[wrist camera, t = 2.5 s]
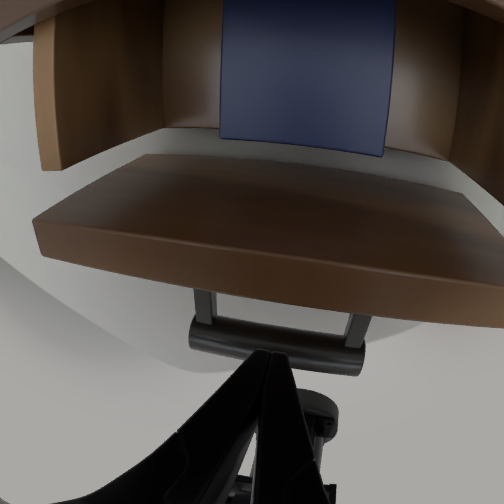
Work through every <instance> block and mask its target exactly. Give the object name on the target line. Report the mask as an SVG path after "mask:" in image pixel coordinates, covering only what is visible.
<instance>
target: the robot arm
mask: <svg viewBox="0 0 504 504" xmlns="http://www.w3.org/2000/svg"><path fill="white" fill-rule="evenodd" d="M257 423H258V426H257ZM334 425H335V419H334V418H333V417H325V416H317V415H309V414H304V413H303V410H302V406H301V402H300V399H299V395H298V391H297V388H296V384H295V380H294V377H293V373H292V369H291V366H290V362H289V359H288V355H287V354H286V353H283V352H277V351H273V352H272V353H271V351H270V350H265V349H259V348H257V349H255V350H254V351H253V352H252V354H251V355H250V356H249V357H248V358H247V359H246V360H245V361H244V362H243V363H242V364H241V365H240V366H239V368H238V369H237V370H236V371H235V372H234V373H233V374H232V375H231V376H230V377H229V378H228V379H227V380H226V381H225V382H224V383H223V384H222V385H221V387H220V388H219V389H218V390H217V391H216V392H215V393H214V394H213V395H212V396H211V397H210V398H209V399H208V400H207V401H206V402H205V403H204V404H203V405H202V406H201V407H200V408H199V409H198V410H197V411H196V412H195V413H194V414H193V415H192V416H191V417H190V418H189V419H188V420H187V421H186V422H185V423H184V424H183V425H182V426H181V427H180V428H179V429H178V430H177V432H175V433H174V434H172V435H171V436H170V437H169V438H168V439H167V440H166V441H165V442H164V443H163V444H162V445H161V446H159V447H158V448H157V449H156V450H155V451H154V452H153V453H152V454H150V455H149V456H147V457H146V458H145V459H143V460H142V461H141V462H140V463H138V464H137V465H135V466H134V467H132V468H131V469H130V470H128V471H127V472H125V473H123V474H122V475H120V476H119V477H118V478H116V479H115V480H113V481H111V482H110V483H108V484H107V485H105V486H104V487H102V488H100V489H99V490H97V491H95V492H93V493H91V494H89V495H86V496H83V497H80V498H77V499H73V500H68V501H63V502H58V503H52V504H335V503H336V484H330V485H323V482H322V478H321V475H320V465H321V457H322V448H323V445H324V443H325V442H326V440H327V438H328V436H329V434H330V432H331V430H332V429H333V427H334ZM256 426H257V435H256V452H255V458H254V461H253V465H252V469H251V473H250V476H249V477H248V476H243V475H237V474H238V472H239V469H240V467H241V464H242V462H243V459H244V457H245V454H246V452H247V449H248V447H249V444H250V442H251V439H252V437H253V434H254V432H255V429H256ZM0 504H9V503H7V502H6V501H4V500H2V499H1V498H0Z"/></svg>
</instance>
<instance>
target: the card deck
mask: <svg viewBox="0 0 504 504" xmlns="http://www.w3.org/2000/svg"><path fill="white" fill-rule="evenodd" d="M395 26H396V0H223V16H222V39H221V69H220V112H219V137H220V139H227V140H243V141H257V142H269V143H279V144H289V145H299V146H307V147H315V148H323V149H330V150H337V151H344V152H351V153H357V154H363V155H369V156H375V157H382V156H383V153H384V146H385V139H386V132H387V124H388V116H389V108H390V99H391V89H392V78H393V65H394V49H395Z"/></svg>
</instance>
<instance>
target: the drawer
mask: <svg viewBox="0 0 504 504" xmlns="http://www.w3.org/2000/svg"><path fill="white" fill-rule="evenodd" d="M222 16H223V0H94V1H91V2H88V3H86V4H83V5H80V6H77V7H75V8H72V9H69V10H67V11H64V12H62V13H59V14H57V15H54V16H52V17H50V18H48V19H45V20H43V21H41V22H39V23H37V24H34V43H33V83H34V104H35V117H36V128H37V138H38V146H39V154H40V161H41V167H42V170H43V171H62V170H64V169H66V168H68V167H70V166H72V165H74V164H77V163H79V162H81V161H83V160H85V159H87V158H90V157H92V156H94V155H96V154H99V153H101V152H103V151H106V150H108V149H110V148H113V147H115V146H117V145H120V144H122V143H125V142H127V141H130V140H132V139H135V138H138V137H140V136H143V135H145V134H148V133H151V132H154V131H156V130H159V129H162V128H206V129H219V112H220V69H221V39H222ZM384 148H389V149H395V150H400V151H404V152H409V153H414V154H418V155H423V156H427V157H432V158H436V159H440V160H444V161H448V162H450V163H452V164H453V165H454V166H456V167H457V168H458V169H460V170H461V171H462V172H463V173H465V174H466V175H467V176H469V177H470V178H471V179H472V180H474V181H475V182H476V183H477V184H479V185H480V186H481V187H482V188H483V189H485V190H486V191H487V192H488V193H489V194H491V195H492V196H493V197H494V198H495V199H496V200H498V201H499V202H500V203H501V204H502V205H503V206H504V24H503V23H501V22H499V21H496V20H494V19H492V18H490V17H487V16H485V15H483V14H481V13H478V12H476V11H473V10H471V9H468V8H466V7H463V6H460V5H458V4H455V3H452V2H449V1H446V0H396V26H395V49H394V65H393V78H392V89H391V99H390V108H389V116H388V124H387V132H386V139H385V146H384ZM32 223H33V227H34V230H35V234H36V238H37V241H38V245H39V248H40V252H41V254H42V256H44V257H49V258H53V259H57V260H61V261H65V262H70V263H74V264H78V265H83V266H87V267H91V268H96V269H100V270H105V271H110V272H114V273H119V274H124V275H128V276H133V277H138V278H143V279H148V280H153V281H158V282H163V283H168V284H173V285H179V286H184V287H189V288H194V300H195V310H196V314H195V316H194V317H193V320H192V322H191V325H190V330H189V346H190V348H191V349H194V350H199V351H203V352H208V353H212V354H217V355H221V356H226V357H231V358H236V359H241V360H246V359H247V358H248V357H249V356H250V355H251V354H252V352H253V351H254V350H255V349H257V348H259V349H265V350H270V351H271V353H272V352H273V351H277V352H283V353H286V354H287V355H288V359H289V362H290V366H291V368H294V369H300V370H307V371H314V372H322V373H330V374H339V375H347V376H358V375H359V374H360V372H361V370H362V367H363V363H364V358H365V348H366V346H365V340H364V337H365V335H366V332H367V329H368V326H369V324H370V321H371V318H372V316H378V317H386V318H395V319H404V320H413V321H423V322H433V323H443V324H454V325H466V326H477V327H491V328H504V237H503V236H502V235H501V234H500V233H499V232H498V230H497V229H496V228H495V227H494V226H493V225H492V224H491V223H490V222H489V221H488V219H487V218H486V217H485V216H484V215H483V214H482V213H481V212H480V211H479V210H478V209H477V208H476V207H475V206H474V205H473V204H472V203H471V202H470V201H469V200H468V199H467V198H466V197H465V196H464V195H463V194H462V193H458V192H453V191H449V190H445V189H440V188H436V187H431V186H427V185H422V184H417V183H412V182H407V181H402V180H397V179H391V178H386V177H380V176H374V175H369V174H363V173H356V172H350V171H343V170H337V169H330V168H322V167H315V166H307V165H299V164H290V163H281V162H272V161H261V160H250V159H238V158H225V157H209V156H190V155H164V154H146V155H143V156H141V157H139V158H137V159H135V160H133V161H132V162H130V163H128V164H126V165H124V166H122V167H120V168H118V169H116V170H114V171H112V172H111V173H109V174H107V175H105V176H103V177H101V178H100V179H98V180H96V181H94V182H92V183H91V184H89V185H87V186H85V187H84V188H82V189H80V190H79V191H77V192H75V193H73V194H72V195H70V196H68V197H67V198H65V199H64V200H62V201H60V202H59V203H57V204H55V205H54V206H52V207H51V208H49V209H48V210H46V211H44V212H43V213H41V214H40V215H38V216H37V217H35V218H34V219H33V220H32ZM216 292H217V293H222V294H228V295H234V296H240V297H246V298H252V299H258V300H264V301H270V302H277V303H283V304H290V305H296V306H303V307H310V308H317V309H324V310H331V311H338V312H346V313H350V316H349V319H348V323H347V326H346V329H345V333H344V335H337V334H329V333H322V332H315V331H308V330H301V329H294V328H288V327H281V326H275V325H269V324H263V323H257V322H251V321H246V320H240V319H234V318H229V317H224V316H218V315H217V301H216Z"/></svg>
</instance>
